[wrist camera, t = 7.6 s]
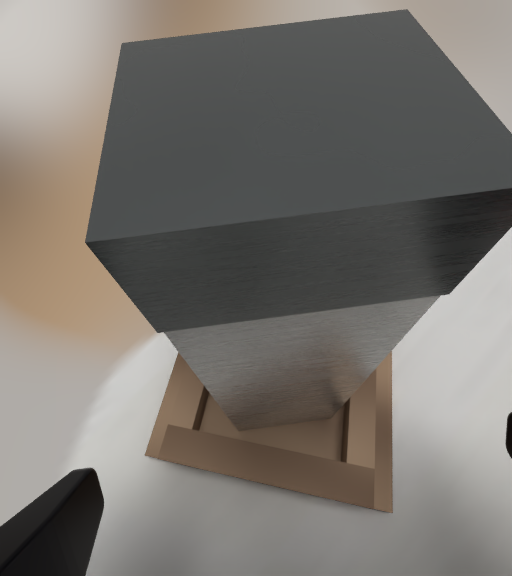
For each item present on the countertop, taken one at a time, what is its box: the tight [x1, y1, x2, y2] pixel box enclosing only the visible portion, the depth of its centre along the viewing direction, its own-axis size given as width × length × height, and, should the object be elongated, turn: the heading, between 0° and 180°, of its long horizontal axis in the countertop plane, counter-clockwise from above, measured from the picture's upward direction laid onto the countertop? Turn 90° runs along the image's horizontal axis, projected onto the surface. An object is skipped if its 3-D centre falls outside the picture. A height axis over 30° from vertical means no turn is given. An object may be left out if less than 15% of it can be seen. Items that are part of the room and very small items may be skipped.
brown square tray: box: [145, 351, 393, 513], centre depth 15 cm, size 8×10×2 cm
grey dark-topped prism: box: [85, 10, 512, 431], centre depth 9 cm, size 4×4×13 cm
